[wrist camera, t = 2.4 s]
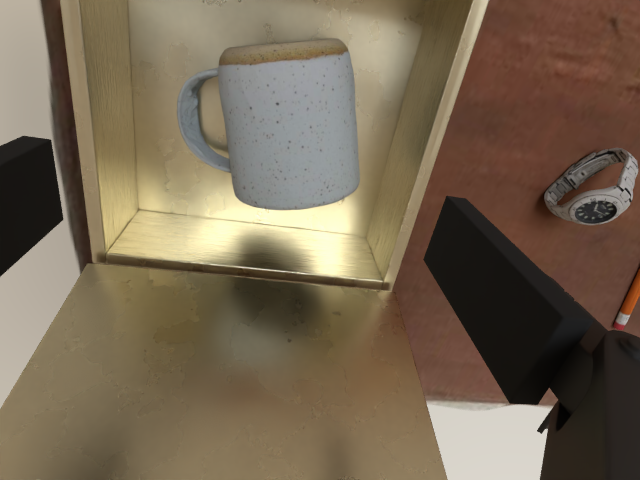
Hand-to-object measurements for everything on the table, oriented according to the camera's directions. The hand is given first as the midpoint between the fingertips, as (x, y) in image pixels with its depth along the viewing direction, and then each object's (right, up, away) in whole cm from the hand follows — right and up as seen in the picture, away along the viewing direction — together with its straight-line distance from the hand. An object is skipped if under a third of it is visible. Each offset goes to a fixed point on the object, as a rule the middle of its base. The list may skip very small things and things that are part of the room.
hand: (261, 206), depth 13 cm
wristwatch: (+22, +4, +17) cm, 28 cm away
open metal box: (-1, +7, +13) cm, 15 cm away
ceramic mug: (-1, +7, +12) cm, 14 cm away
